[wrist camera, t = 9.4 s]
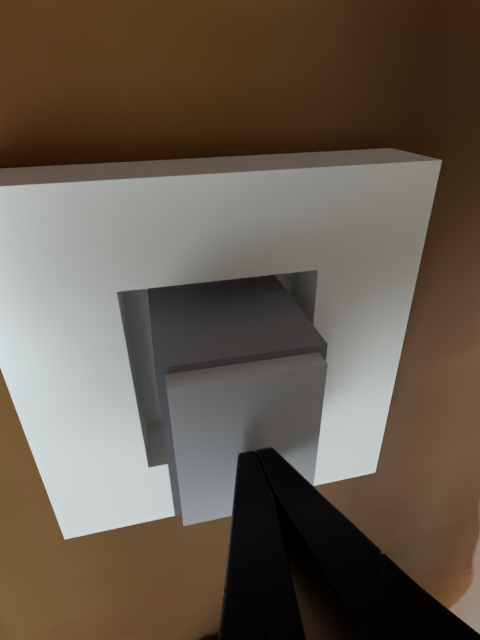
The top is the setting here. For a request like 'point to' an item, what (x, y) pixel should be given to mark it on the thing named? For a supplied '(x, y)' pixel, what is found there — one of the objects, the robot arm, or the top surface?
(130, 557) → the top surface
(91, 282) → the socket plate
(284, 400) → the plug
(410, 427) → the top surface
